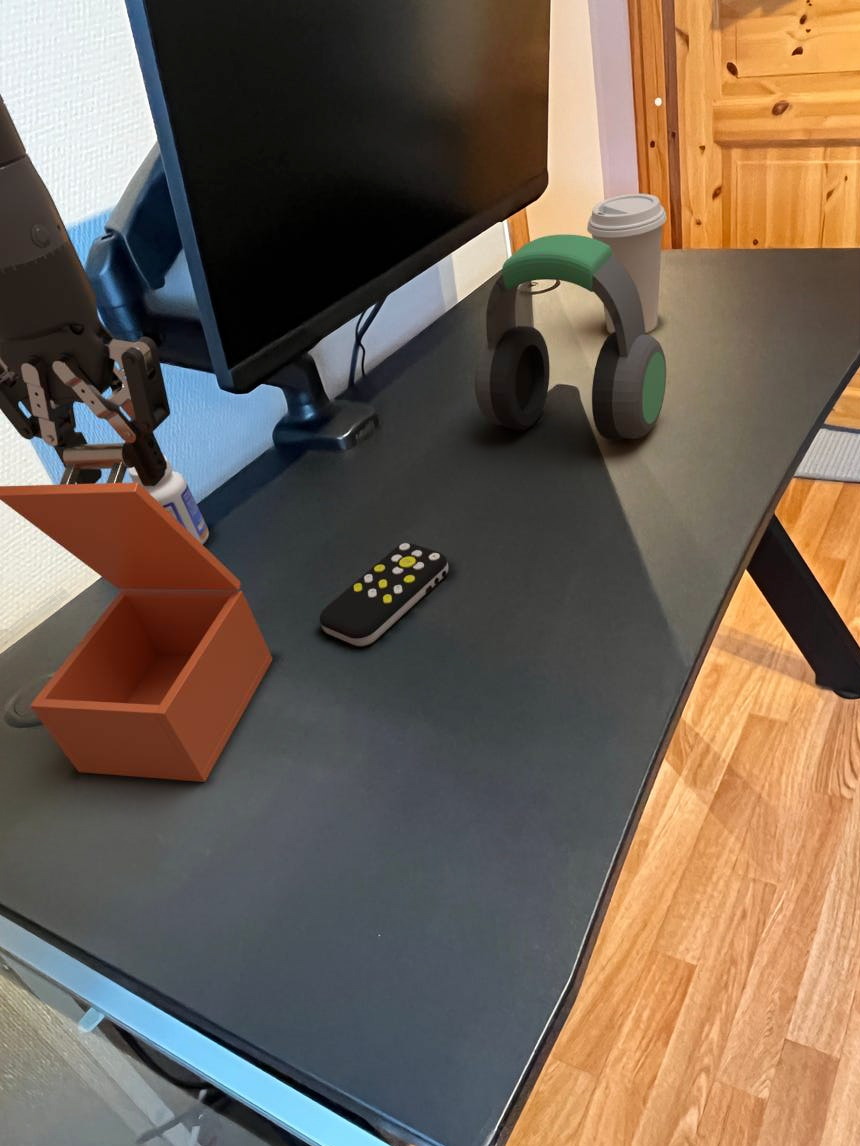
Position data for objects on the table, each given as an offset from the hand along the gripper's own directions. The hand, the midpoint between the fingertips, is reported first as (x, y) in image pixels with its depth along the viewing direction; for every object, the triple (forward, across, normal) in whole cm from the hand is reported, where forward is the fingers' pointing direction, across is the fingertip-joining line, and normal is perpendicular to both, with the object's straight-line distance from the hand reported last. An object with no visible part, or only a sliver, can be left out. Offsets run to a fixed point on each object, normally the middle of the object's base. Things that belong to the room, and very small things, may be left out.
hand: (122, 480), depth 65 cm
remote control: (+19, -14, -9) cm, 25 cm away
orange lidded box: (+19, 0, +6) cm, 20 cm away
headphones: (+18, -27, -39) cm, 51 cm away
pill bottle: (+18, +12, -18) cm, 28 cm away
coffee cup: (+18, -31, -65) cm, 74 cm away
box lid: (+4, 0, +3) cm, 5 cm away
